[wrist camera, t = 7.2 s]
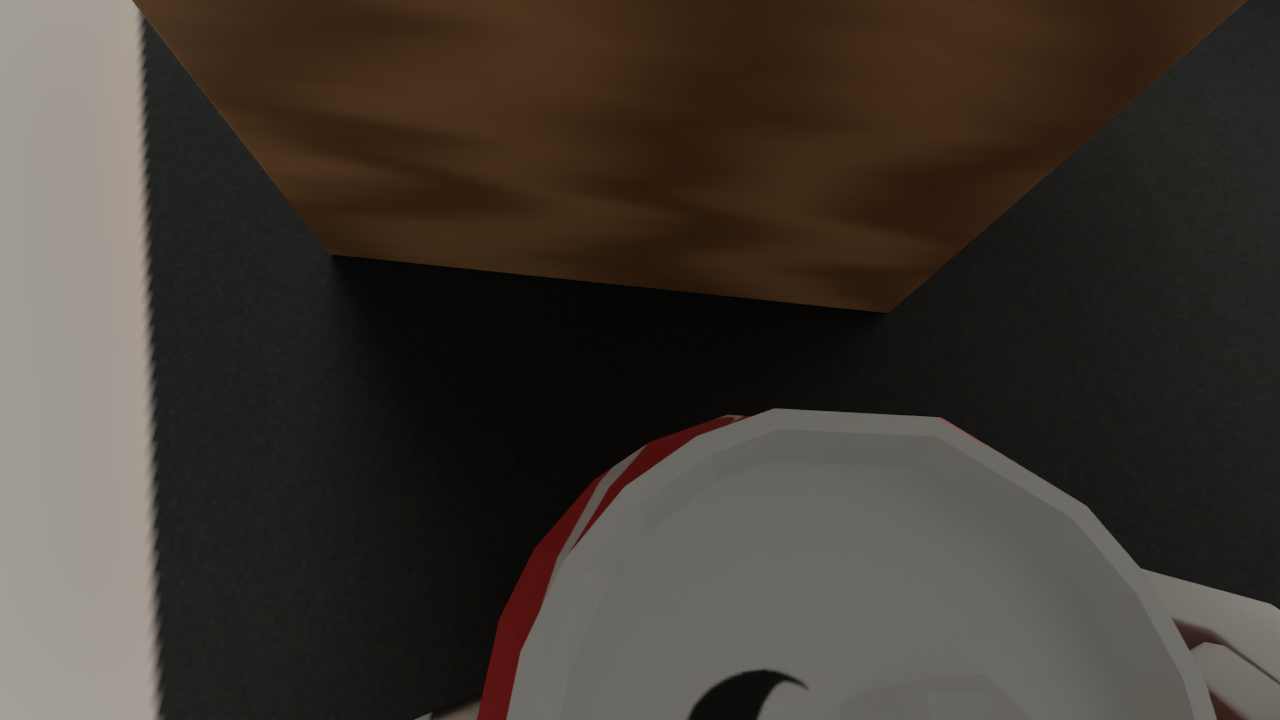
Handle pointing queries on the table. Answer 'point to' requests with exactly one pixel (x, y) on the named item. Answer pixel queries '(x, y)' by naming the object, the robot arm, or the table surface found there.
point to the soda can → (834, 588)
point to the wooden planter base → (673, 127)
